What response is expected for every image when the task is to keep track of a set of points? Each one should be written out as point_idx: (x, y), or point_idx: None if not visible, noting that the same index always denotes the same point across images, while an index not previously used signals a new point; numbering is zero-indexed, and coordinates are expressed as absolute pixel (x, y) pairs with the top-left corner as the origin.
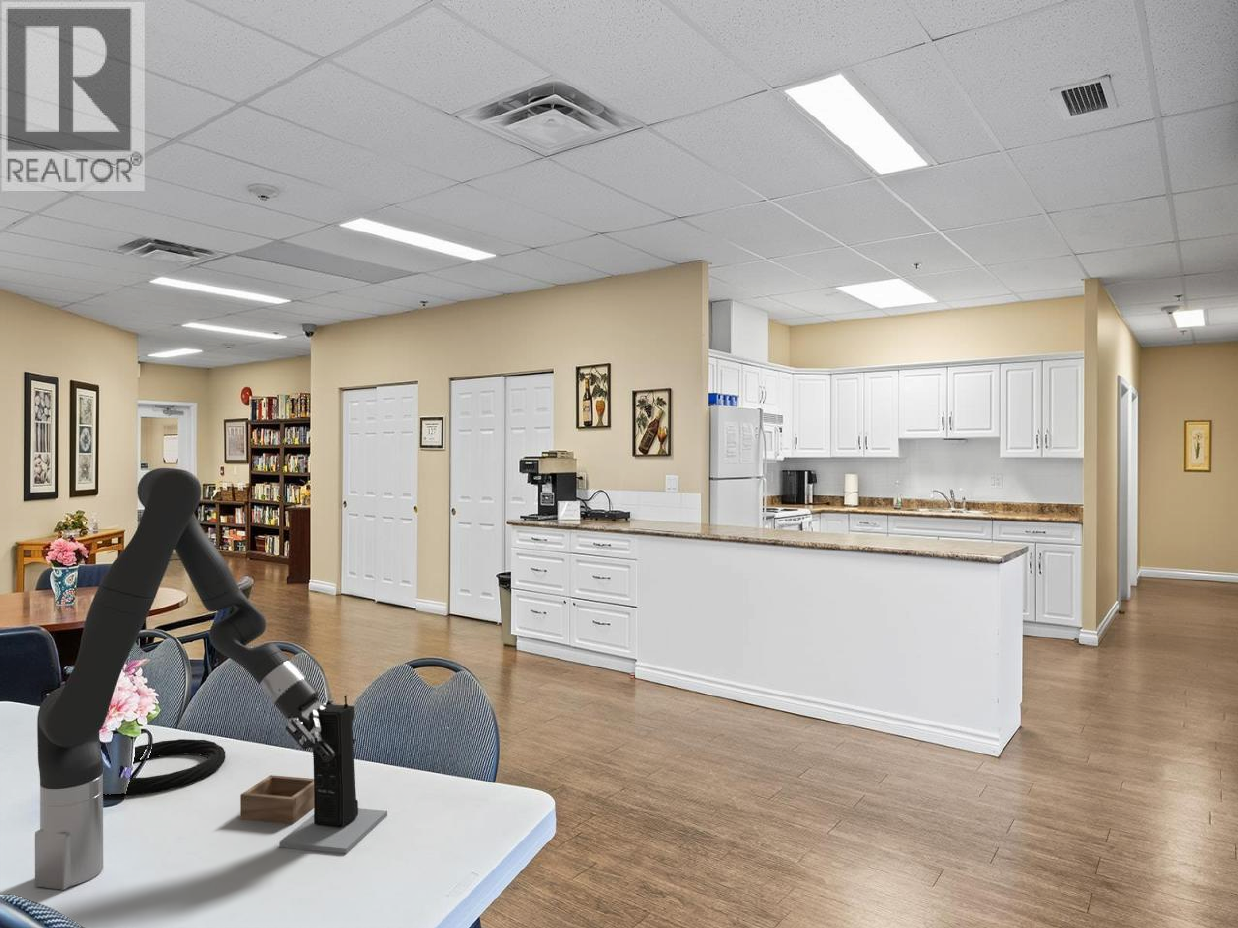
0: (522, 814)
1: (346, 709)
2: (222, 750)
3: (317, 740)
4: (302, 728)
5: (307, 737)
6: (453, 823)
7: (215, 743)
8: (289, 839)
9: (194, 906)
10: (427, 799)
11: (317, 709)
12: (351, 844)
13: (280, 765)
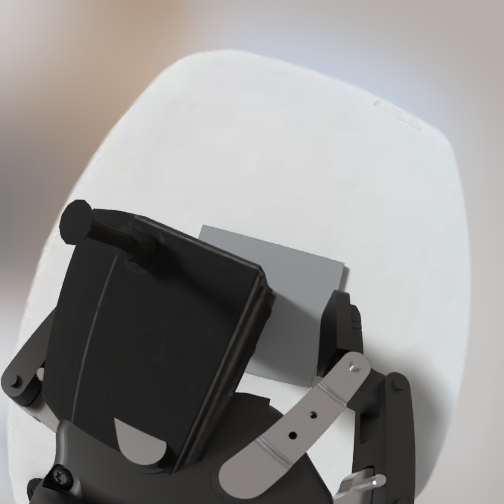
0: (231, 63)
1: (183, 233)
2: (37, 483)
3: (368, 367)
4: (404, 451)
5: (410, 403)
6: (247, 124)
7: (27, 486)
8: (303, 373)
9: (438, 411)
10: (154, 174)
11: (153, 467)
12: (328, 259)
13: (38, 423)
